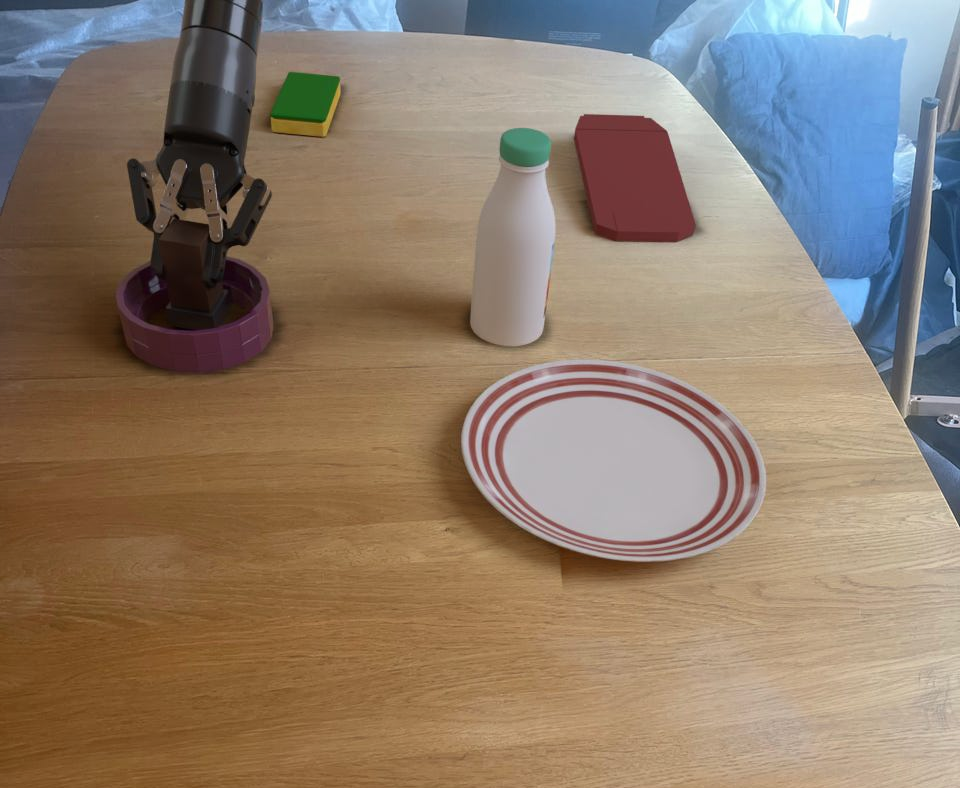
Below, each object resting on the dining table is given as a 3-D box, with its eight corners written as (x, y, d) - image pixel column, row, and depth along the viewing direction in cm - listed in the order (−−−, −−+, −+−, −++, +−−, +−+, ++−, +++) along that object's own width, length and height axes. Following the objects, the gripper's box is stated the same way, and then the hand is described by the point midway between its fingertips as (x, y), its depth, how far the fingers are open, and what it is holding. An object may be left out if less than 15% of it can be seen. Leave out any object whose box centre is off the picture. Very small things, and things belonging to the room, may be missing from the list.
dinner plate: (704, 378, 102) (712, 349, 99) (803, 572, 85) (816, 544, 82) (438, 390, 97) (440, 361, 95) (487, 597, 80) (491, 569, 78)
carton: (687, 267, 122) (651, 143, 135) (698, 232, 118) (660, 108, 131) (591, 266, 121) (564, 141, 133) (598, 231, 117) (570, 105, 129)
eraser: (168, 326, 99) (152, 240, 92) (185, 300, 102) (171, 215, 95) (215, 333, 98) (202, 248, 92) (231, 307, 102) (219, 223, 95)
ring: (111, 375, 95) (100, 329, 91) (143, 293, 104) (134, 248, 101) (263, 383, 96) (258, 338, 92) (281, 301, 105) (277, 257, 101)
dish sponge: (341, 94, 139) (340, 75, 137) (325, 138, 130) (324, 118, 128) (290, 89, 139) (288, 70, 137) (271, 133, 130) (269, 113, 128)
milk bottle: (537, 358, 102) (563, 162, 86) (463, 346, 102) (476, 149, 87) (547, 317, 107) (573, 125, 91) (476, 306, 107) (491, 112, 92)
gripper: (121, 66, 90) (96, 258, 92) (274, 89, 89) (245, 283, 91) (154, 103, 97) (130, 281, 99) (295, 125, 97) (268, 303, 98)
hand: (185, 281), depth 95 cm, fingers closed on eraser, 4 cm apart
